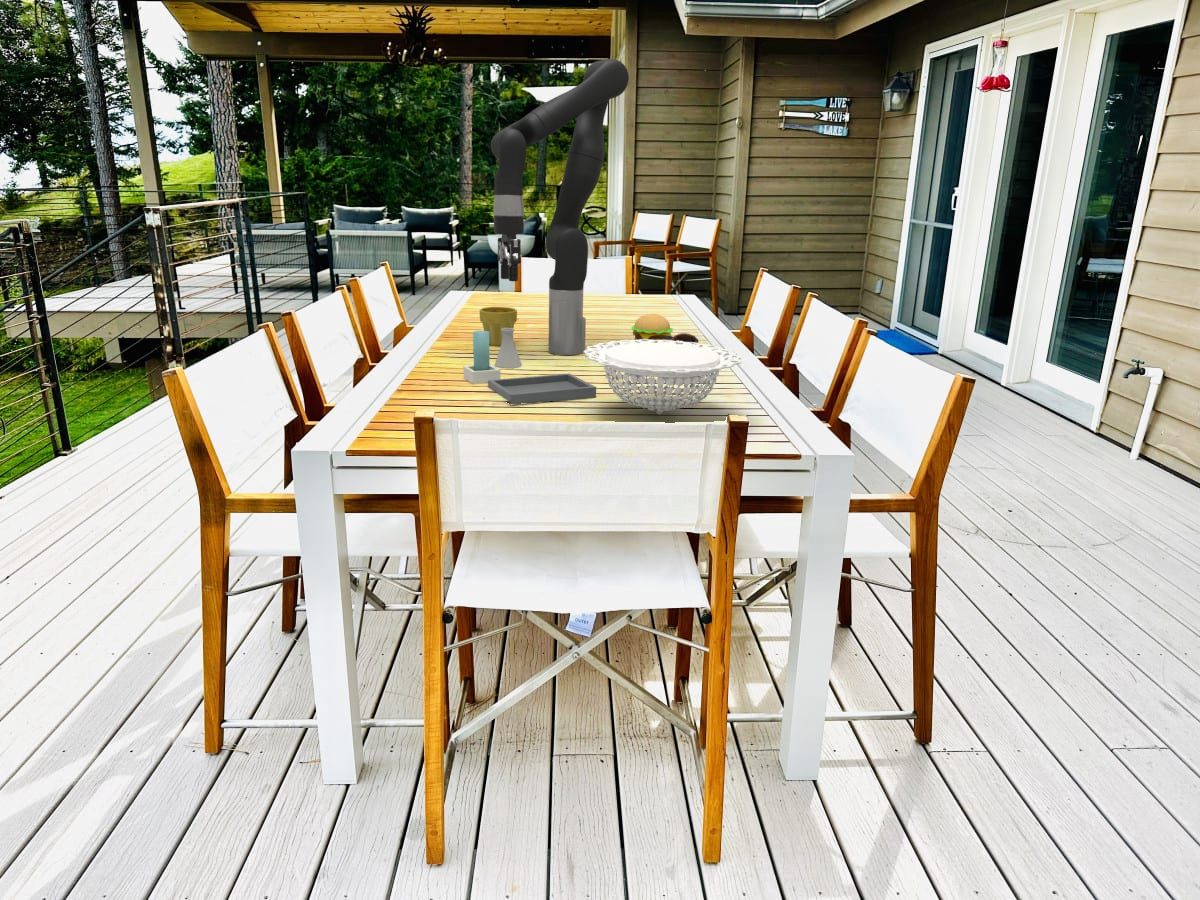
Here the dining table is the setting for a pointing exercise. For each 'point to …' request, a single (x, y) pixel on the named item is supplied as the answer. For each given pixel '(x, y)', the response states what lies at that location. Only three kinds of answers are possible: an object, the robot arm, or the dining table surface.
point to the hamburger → (651, 327)
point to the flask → (507, 351)
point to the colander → (661, 370)
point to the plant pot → (497, 321)
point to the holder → (480, 374)
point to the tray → (542, 388)
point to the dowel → (481, 350)
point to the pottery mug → (682, 338)
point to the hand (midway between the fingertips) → (509, 280)
